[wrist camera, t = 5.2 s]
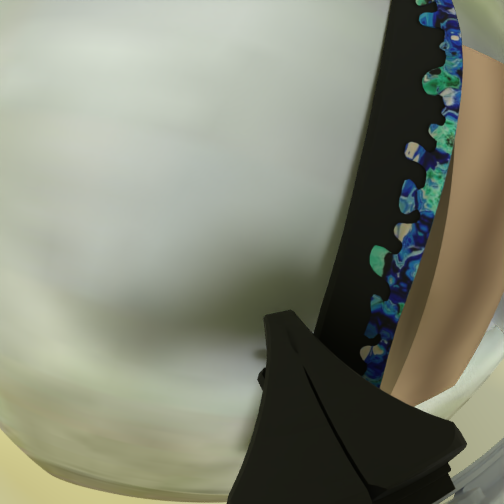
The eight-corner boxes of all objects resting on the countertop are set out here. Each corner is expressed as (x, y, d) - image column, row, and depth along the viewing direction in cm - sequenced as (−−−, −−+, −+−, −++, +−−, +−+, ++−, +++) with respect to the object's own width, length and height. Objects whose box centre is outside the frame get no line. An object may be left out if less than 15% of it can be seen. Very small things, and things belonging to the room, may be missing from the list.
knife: (252, 473, 17) (284, 515, 13) (216, 485, 15) (247, 532, 12) (397, -3, 8) (481, -8, 4) (354, -41, 6) (446, -60, 3)
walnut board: (508, 78, 7) (538, 84, 6) (442, 367, 17) (454, 385, 15) (411, 44, 7) (449, 39, 5) (365, 399, 17) (376, 422, 15)
